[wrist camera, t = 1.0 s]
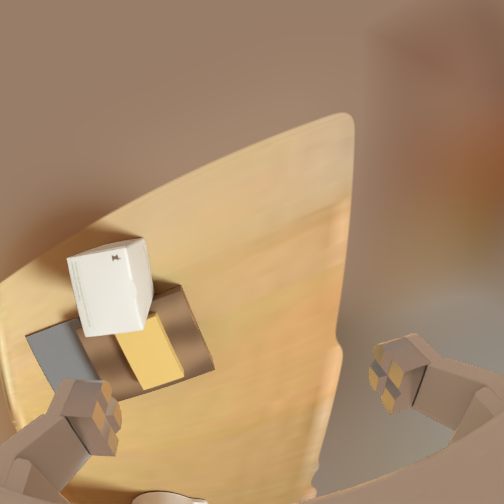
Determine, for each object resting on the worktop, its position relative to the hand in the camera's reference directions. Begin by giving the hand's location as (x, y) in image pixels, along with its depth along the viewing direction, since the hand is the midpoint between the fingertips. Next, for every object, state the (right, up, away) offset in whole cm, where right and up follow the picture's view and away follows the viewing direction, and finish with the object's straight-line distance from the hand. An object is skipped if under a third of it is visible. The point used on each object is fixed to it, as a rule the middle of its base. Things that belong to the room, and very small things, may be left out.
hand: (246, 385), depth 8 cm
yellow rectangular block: (-13, -9, +30) cm, 34 cm away
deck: (-15, -9, +34) cm, 38 cm away
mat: (-28, -14, +31) cm, 44 cm away
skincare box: (-17, +1, +33) cm, 37 cm away
